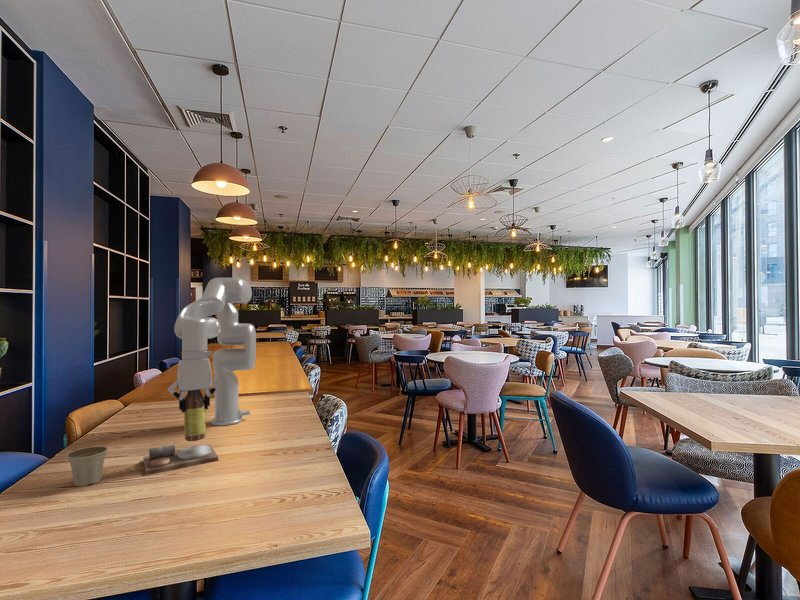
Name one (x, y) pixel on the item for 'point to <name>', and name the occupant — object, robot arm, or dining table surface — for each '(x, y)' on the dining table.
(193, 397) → the sauce bottle
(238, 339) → the robot arm
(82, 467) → the flower pot
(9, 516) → the dining table surface
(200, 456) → the board
